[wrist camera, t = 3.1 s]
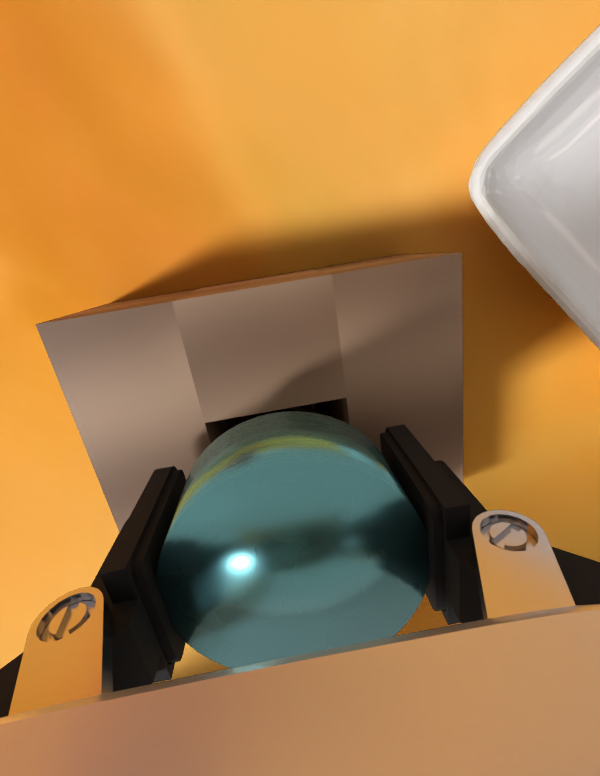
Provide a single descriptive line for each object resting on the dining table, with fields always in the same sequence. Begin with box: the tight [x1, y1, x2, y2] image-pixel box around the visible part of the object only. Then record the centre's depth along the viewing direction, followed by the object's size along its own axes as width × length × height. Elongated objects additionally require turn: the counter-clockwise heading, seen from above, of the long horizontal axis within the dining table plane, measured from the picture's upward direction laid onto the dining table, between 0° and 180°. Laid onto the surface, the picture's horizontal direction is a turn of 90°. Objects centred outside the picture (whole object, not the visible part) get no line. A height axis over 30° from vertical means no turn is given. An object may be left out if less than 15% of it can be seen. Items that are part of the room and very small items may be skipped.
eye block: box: [36, 252, 463, 532], centre depth 15 cm, size 12×12×5 cm
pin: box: [157, 404, 430, 668], centre depth 13 cm, size 6×6×10 cm
